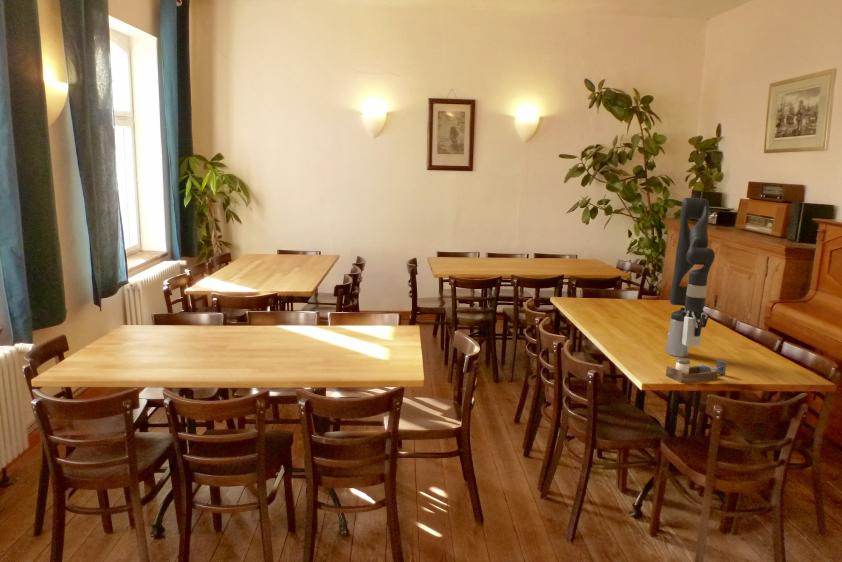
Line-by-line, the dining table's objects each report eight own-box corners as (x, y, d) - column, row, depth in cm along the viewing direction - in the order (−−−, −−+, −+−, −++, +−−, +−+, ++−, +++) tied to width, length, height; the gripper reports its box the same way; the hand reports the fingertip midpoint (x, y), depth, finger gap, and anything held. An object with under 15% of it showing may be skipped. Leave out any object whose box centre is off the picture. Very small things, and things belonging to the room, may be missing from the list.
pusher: (698, 374, 254) (699, 360, 253) (715, 371, 257) (717, 358, 256) (708, 378, 249) (710, 365, 248) (726, 376, 252) (728, 362, 251)
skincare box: (695, 343, 251) (698, 316, 249) (699, 346, 247) (703, 318, 245) (681, 343, 251) (684, 316, 249) (685, 346, 247) (688, 318, 245)
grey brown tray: (665, 377, 250) (666, 366, 249) (700, 373, 257) (702, 362, 256) (680, 384, 242) (682, 373, 241) (716, 379, 248) (718, 368, 248)
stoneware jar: (671, 376, 249) (673, 358, 247) (681, 375, 251) (683, 357, 249) (680, 381, 244) (683, 362, 242) (691, 379, 246) (693, 361, 244)
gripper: (716, 298, 240) (711, 338, 243) (690, 291, 253) (686, 329, 256) (701, 299, 237) (697, 339, 240) (676, 292, 251) (672, 330, 254)
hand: (691, 334), depth 248 cm, fingers closed on skincare box, 5 cm apart
